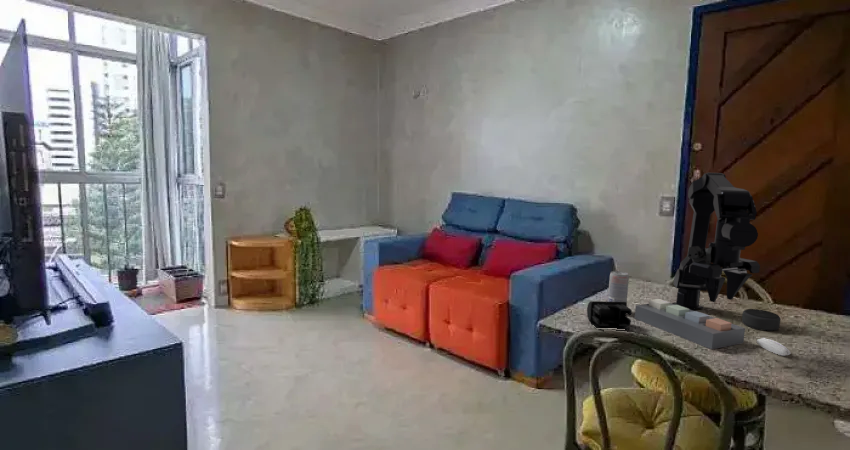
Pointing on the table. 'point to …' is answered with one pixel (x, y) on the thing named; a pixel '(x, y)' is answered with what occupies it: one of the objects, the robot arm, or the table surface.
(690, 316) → the key slate
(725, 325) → the key terracotta
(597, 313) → the end cap
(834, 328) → the table surface
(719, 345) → the keypad
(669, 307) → the key sage
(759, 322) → the smart speaker
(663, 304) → the key ivory
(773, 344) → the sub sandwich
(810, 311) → the table surface
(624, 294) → the energy drink
